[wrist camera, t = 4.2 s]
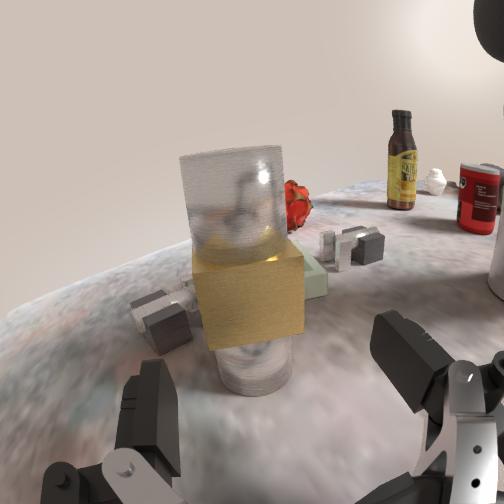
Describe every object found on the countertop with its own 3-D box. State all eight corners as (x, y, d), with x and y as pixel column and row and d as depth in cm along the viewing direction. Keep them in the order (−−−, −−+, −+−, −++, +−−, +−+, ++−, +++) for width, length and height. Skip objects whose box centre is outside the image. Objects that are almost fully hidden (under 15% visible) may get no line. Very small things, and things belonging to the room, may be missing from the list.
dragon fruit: (251, 248, 44) (303, 237, 51) (285, 223, 37) (337, 216, 45) (232, 199, 46) (285, 195, 53) (261, 169, 39) (315, 170, 46)
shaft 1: (200, 302, 28) (193, 272, 27) (226, 321, 25) (221, 287, 23) (135, 332, 24) (124, 300, 22) (154, 358, 21) (142, 323, 19)
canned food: (466, 218, 44) (470, 162, 40) (498, 230, 37) (505, 170, 33) (448, 224, 42) (452, 162, 38) (484, 238, 35) (491, 171, 31)
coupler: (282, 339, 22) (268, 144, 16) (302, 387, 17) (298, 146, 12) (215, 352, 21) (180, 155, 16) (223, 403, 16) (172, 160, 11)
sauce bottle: (403, 212, 49) (402, 108, 42) (380, 205, 55) (378, 109, 47) (421, 208, 52) (421, 112, 44) (399, 201, 57) (398, 111, 49)
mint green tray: (297, 258, 35) (296, 240, 34) (327, 294, 27) (327, 272, 26) (224, 270, 34) (221, 252, 33) (234, 313, 26) (230, 290, 25)
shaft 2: (340, 273, 31) (341, 244, 29) (318, 258, 35) (318, 232, 33) (385, 258, 33) (387, 231, 32) (362, 246, 37) (363, 222, 35)
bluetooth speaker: (522, 219, 42) (526, 175, 38) (490, 213, 46) (494, 169, 42) (496, 197, 60) (498, 164, 56) (470, 193, 64) (472, 159, 60)
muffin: (449, 196, 60) (451, 170, 57) (431, 196, 61) (432, 169, 58) (438, 191, 66) (439, 166, 63) (420, 191, 66) (421, 165, 64)
